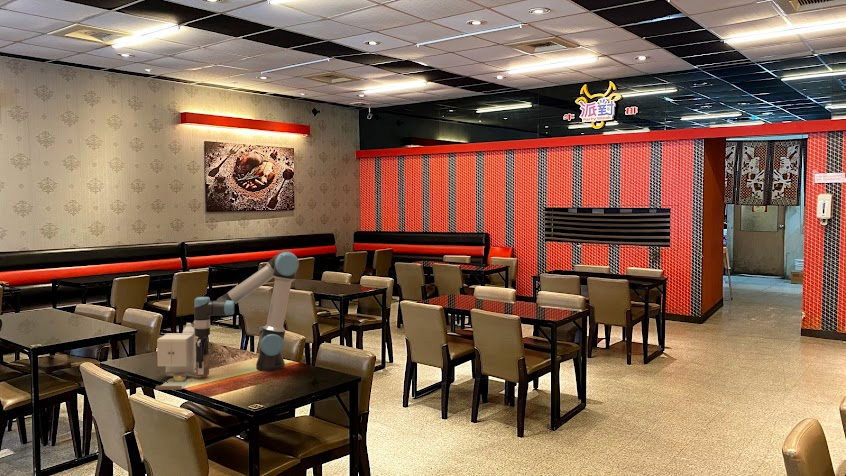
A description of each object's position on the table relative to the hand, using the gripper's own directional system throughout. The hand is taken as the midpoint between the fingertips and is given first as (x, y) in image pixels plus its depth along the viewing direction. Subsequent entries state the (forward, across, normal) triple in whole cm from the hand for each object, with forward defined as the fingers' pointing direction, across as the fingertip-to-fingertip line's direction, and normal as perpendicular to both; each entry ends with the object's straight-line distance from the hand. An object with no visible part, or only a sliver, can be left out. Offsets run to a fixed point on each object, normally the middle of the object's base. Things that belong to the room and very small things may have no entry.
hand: (202, 372), depth 333 cm
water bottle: (+3, -19, -12) cm, 23 cm away
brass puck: (+3, +5, -10) cm, 11 cm away
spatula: (+1, 0, -8) cm, 8 cm away
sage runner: (+3, +11, -10) cm, 15 cm away
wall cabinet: (+3, +2, -13) cm, 13 cm away
